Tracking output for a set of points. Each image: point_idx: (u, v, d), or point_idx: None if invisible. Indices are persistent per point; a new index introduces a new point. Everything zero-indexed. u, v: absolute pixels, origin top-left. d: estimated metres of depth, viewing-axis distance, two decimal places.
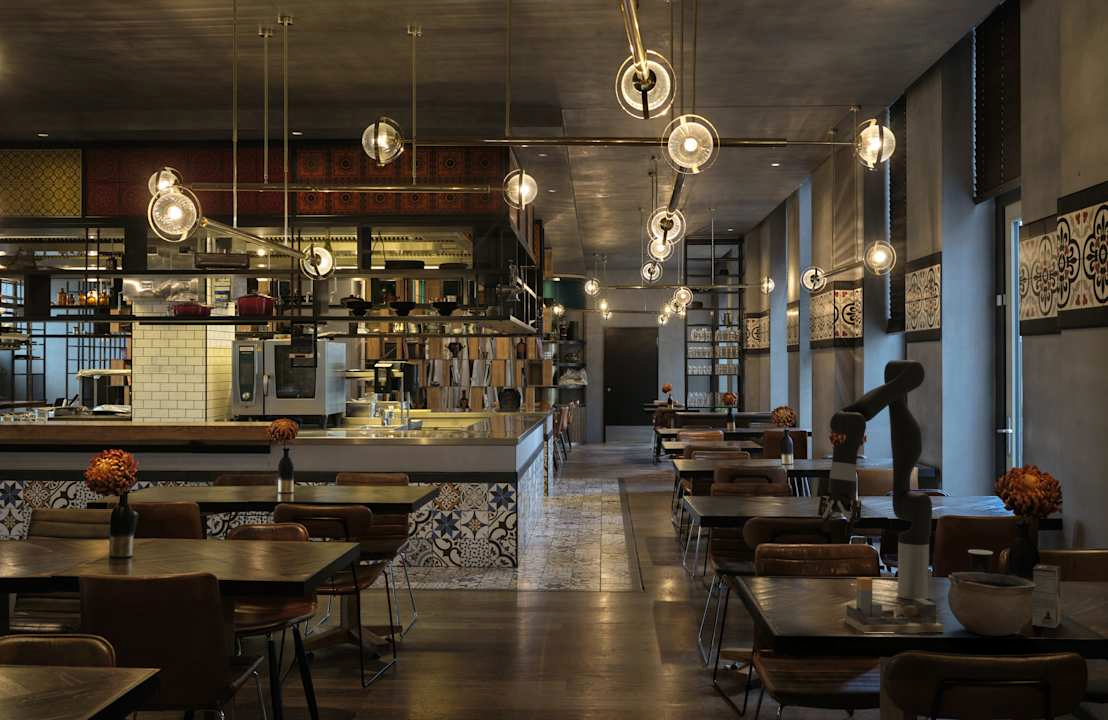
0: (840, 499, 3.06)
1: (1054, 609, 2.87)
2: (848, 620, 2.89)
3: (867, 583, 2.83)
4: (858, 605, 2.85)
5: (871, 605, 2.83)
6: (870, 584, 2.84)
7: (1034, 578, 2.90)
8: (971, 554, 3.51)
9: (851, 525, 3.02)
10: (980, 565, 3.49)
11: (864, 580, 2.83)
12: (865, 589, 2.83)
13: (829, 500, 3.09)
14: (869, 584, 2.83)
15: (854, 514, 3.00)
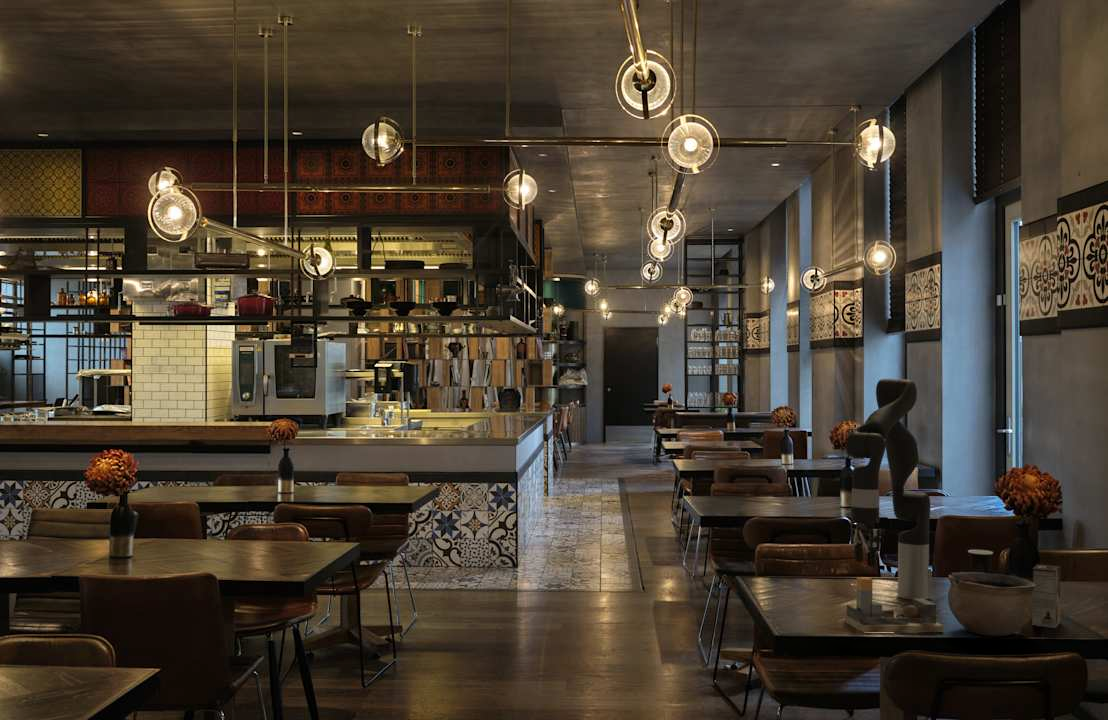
0: (862, 528, 2.84)
1: (1054, 609, 2.87)
2: (848, 620, 2.89)
3: (867, 583, 2.83)
4: (858, 605, 2.85)
5: (871, 605, 2.83)
6: (870, 584, 2.84)
7: (1034, 578, 2.90)
8: (971, 554, 3.51)
9: (871, 556, 2.80)
10: (980, 565, 3.49)
11: (864, 580, 2.83)
12: (865, 589, 2.83)
13: (856, 528, 2.88)
14: (869, 584, 2.83)
15: (870, 545, 2.78)
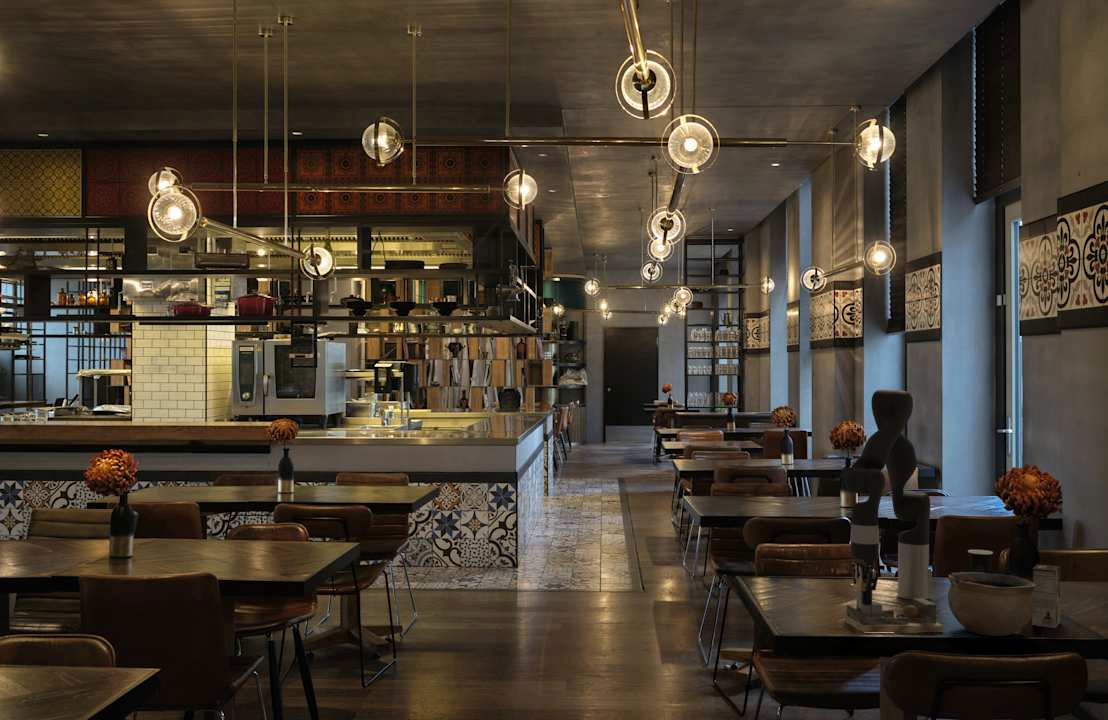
0: (862, 563, 2.84)
1: (1054, 609, 2.87)
2: (848, 620, 2.89)
3: None
4: (858, 605, 2.85)
5: (871, 605, 2.83)
6: None
7: (1034, 578, 2.90)
8: (971, 554, 3.51)
9: (867, 595, 2.82)
10: (980, 565, 3.49)
11: None
12: None
13: (856, 563, 2.88)
14: None
15: (867, 586, 2.80)
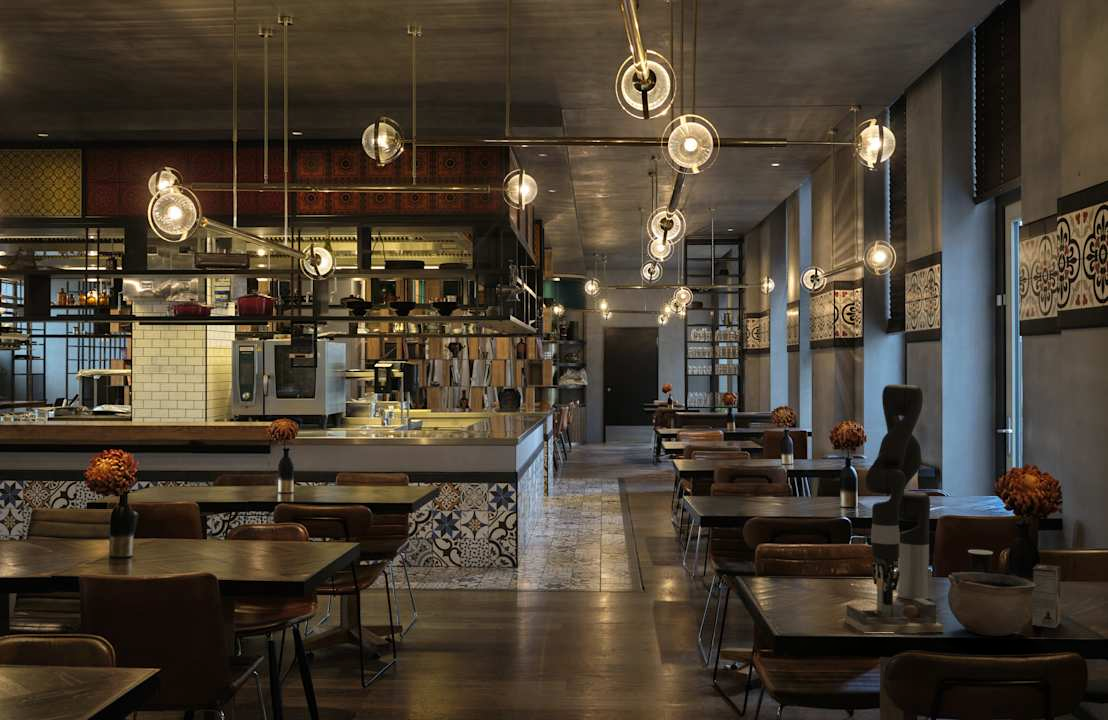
0: (882, 563, 2.85)
1: (1054, 609, 2.87)
2: (848, 620, 2.89)
3: None
4: (879, 605, 2.85)
5: (892, 605, 2.84)
6: None
7: (1034, 578, 2.90)
8: (971, 554, 3.51)
9: (888, 595, 2.83)
10: (980, 565, 3.49)
11: None
12: None
13: (876, 563, 2.89)
14: None
15: (888, 585, 2.80)
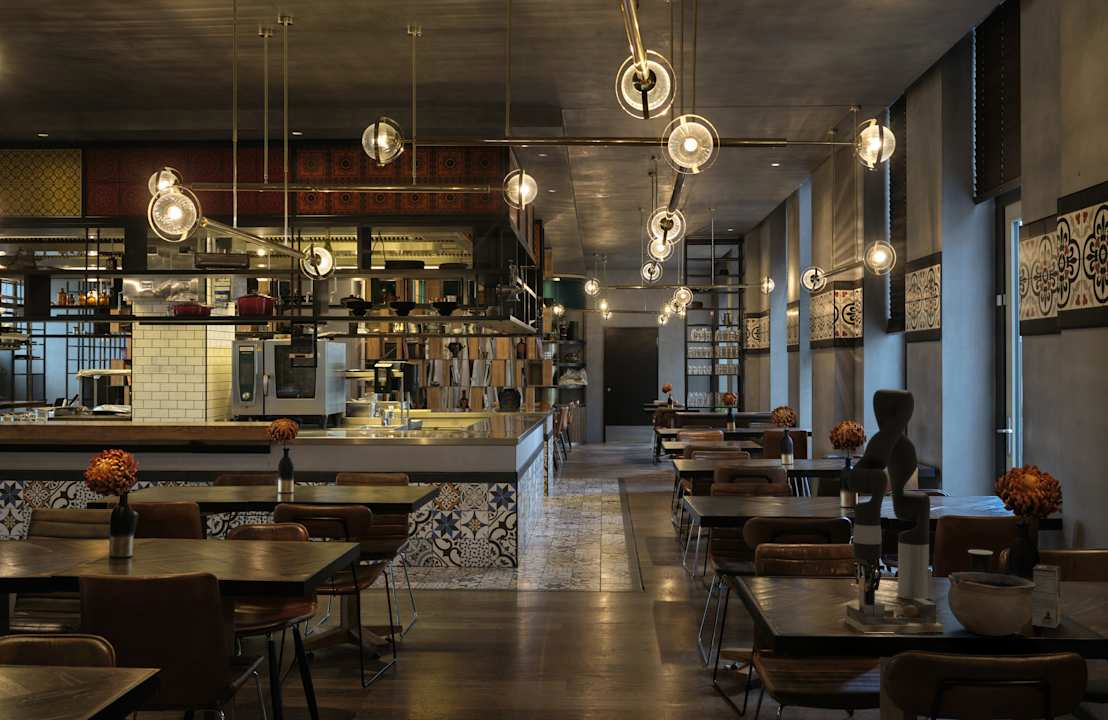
0: (864, 563, 2.84)
1: (1054, 609, 2.87)
2: (848, 620, 2.89)
3: None
4: (861, 605, 2.85)
5: (873, 605, 2.83)
6: None
7: (1034, 578, 2.90)
8: (971, 554, 3.51)
9: (870, 595, 2.82)
10: (980, 565, 3.49)
11: None
12: None
13: (858, 563, 2.88)
14: None
15: (870, 586, 2.80)
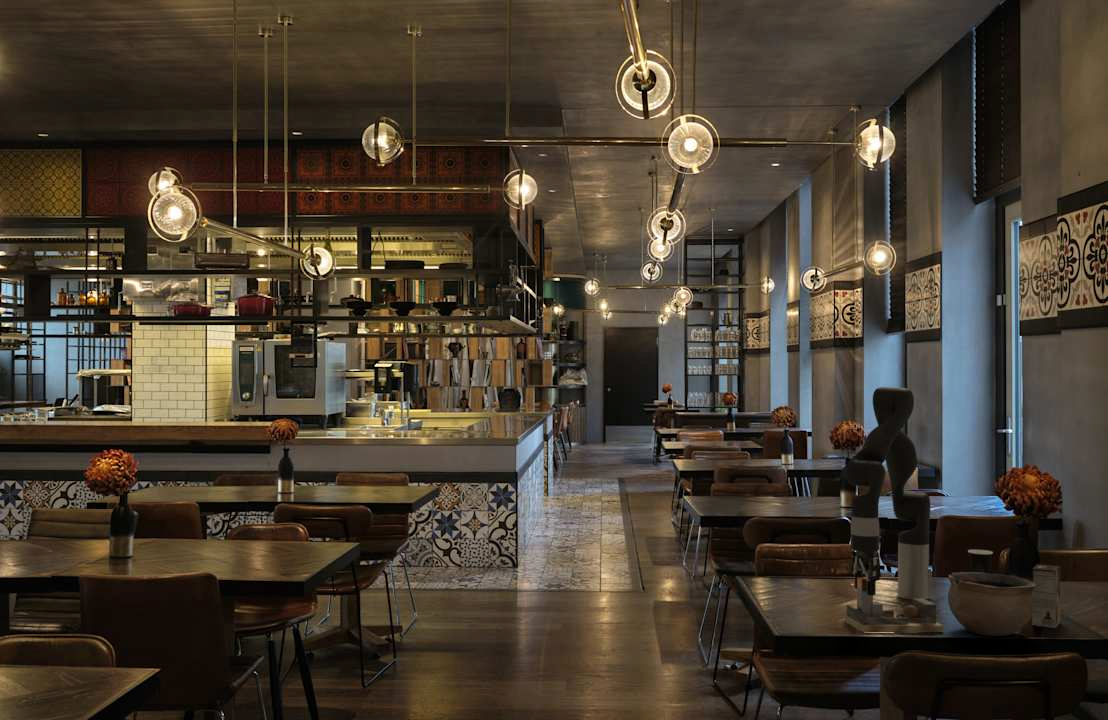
0: (862, 556, 2.84)
1: (1054, 609, 2.87)
2: (848, 620, 2.89)
3: None
4: (859, 605, 2.85)
5: (871, 605, 2.83)
6: None
7: (1034, 578, 2.90)
8: (971, 554, 3.51)
9: (871, 585, 2.80)
10: (980, 565, 3.49)
11: (865, 580, 2.83)
12: (866, 589, 2.83)
13: (856, 555, 2.88)
14: None
15: (871, 574, 2.78)
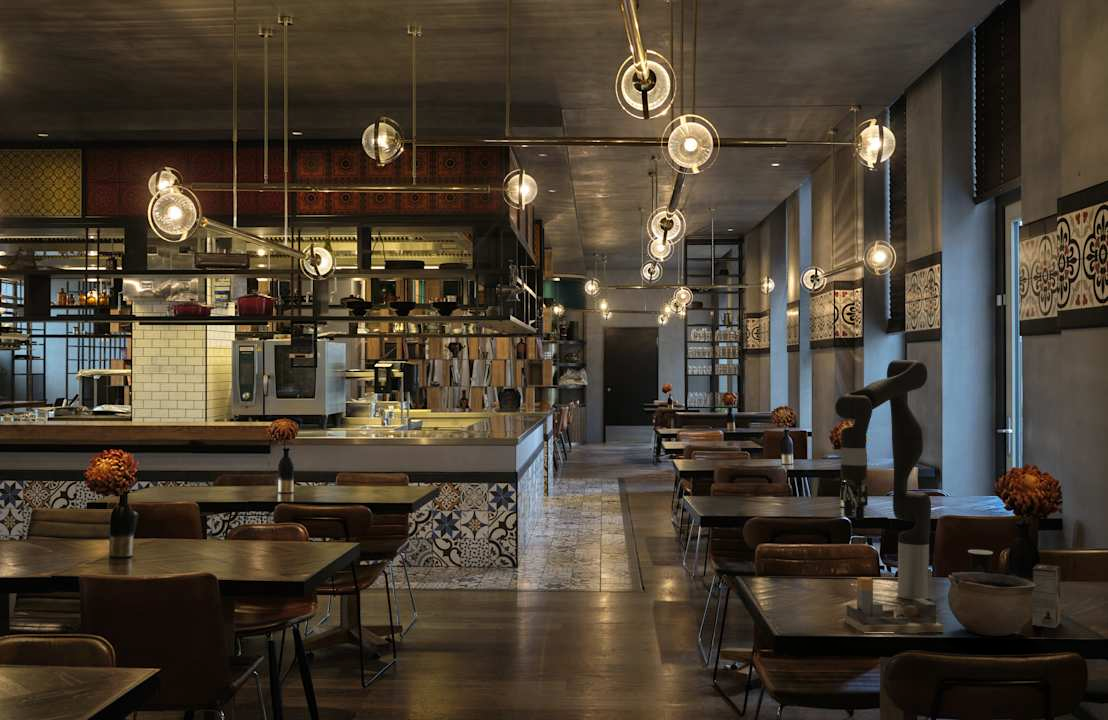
0: (851, 484, 3.04)
1: (1054, 609, 2.87)
2: (848, 620, 2.89)
3: (867, 583, 2.83)
4: (859, 605, 2.85)
5: (871, 605, 2.83)
6: (871, 584, 2.84)
7: (1034, 578, 2.90)
8: (971, 554, 3.51)
9: (860, 510, 2.99)
10: (980, 565, 3.49)
11: (865, 580, 2.83)
12: (866, 589, 2.83)
13: (845, 485, 3.08)
14: (870, 584, 2.84)
15: (859, 500, 2.97)
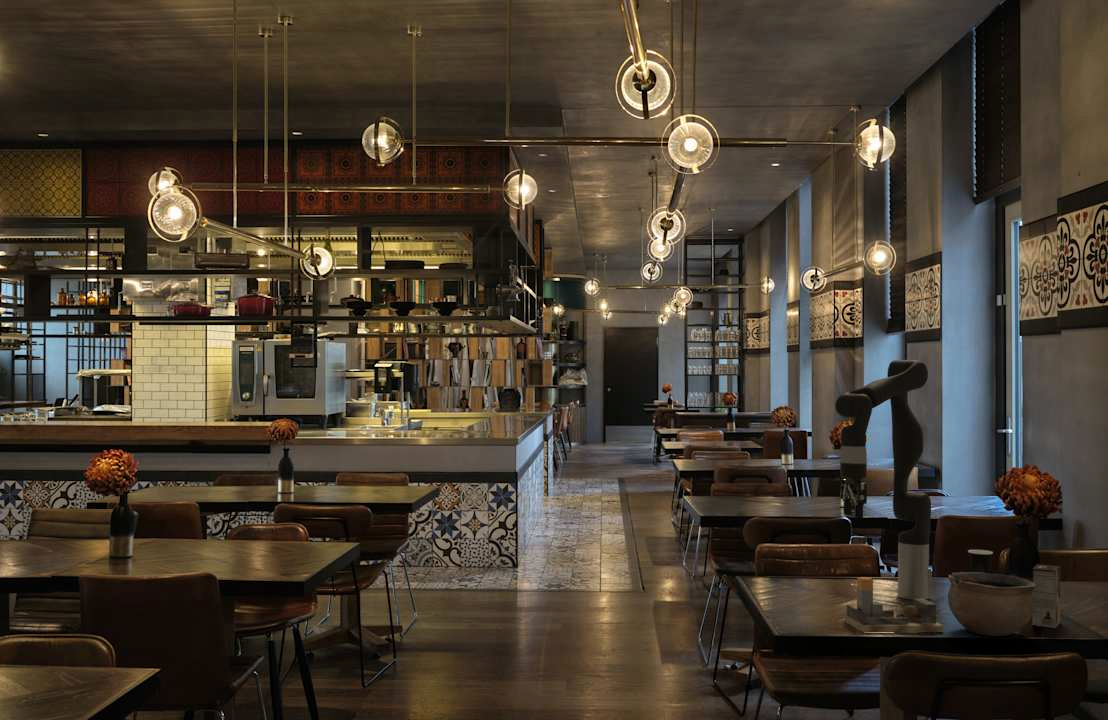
0: (850, 482, 3.04)
1: (1054, 609, 2.87)
2: (848, 620, 2.89)
3: (867, 583, 2.83)
4: (859, 605, 2.85)
5: (871, 605, 2.83)
6: (871, 584, 2.84)
7: (1034, 578, 2.90)
8: (971, 554, 3.51)
9: (859, 508, 3.00)
10: (980, 565, 3.49)
11: (865, 580, 2.83)
12: (866, 589, 2.83)
13: (845, 483, 3.08)
14: (870, 584, 2.84)
15: (858, 498, 2.98)
